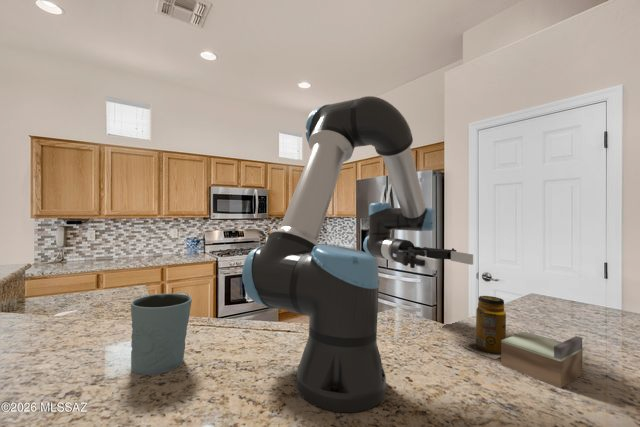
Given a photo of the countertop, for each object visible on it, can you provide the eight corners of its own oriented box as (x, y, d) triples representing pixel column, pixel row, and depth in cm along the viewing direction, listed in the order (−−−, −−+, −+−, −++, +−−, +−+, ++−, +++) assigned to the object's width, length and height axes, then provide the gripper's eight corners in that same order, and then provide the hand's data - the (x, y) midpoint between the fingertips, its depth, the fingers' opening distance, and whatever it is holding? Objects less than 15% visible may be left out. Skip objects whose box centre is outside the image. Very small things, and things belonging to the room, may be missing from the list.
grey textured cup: (177, 348, 61) (181, 291, 62) (196, 366, 54) (200, 301, 54) (120, 362, 54) (125, 297, 55) (133, 385, 47) (138, 310, 47)
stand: (560, 388, 51) (560, 348, 52) (501, 364, 60) (501, 330, 60) (582, 373, 57) (582, 337, 58) (525, 354, 66) (525, 322, 66)
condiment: (513, 352, 67) (513, 299, 67) (495, 360, 62) (495, 303, 63) (481, 341, 73) (482, 293, 73) (462, 347, 68) (463, 296, 69)
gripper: (426, 258, 100) (485, 270, 81) (367, 266, 88) (419, 283, 69) (426, 236, 99) (485, 244, 80) (367, 241, 88) (419, 252, 69)
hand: (455, 262), depth 75 cm, fingers open, 13 cm apart
